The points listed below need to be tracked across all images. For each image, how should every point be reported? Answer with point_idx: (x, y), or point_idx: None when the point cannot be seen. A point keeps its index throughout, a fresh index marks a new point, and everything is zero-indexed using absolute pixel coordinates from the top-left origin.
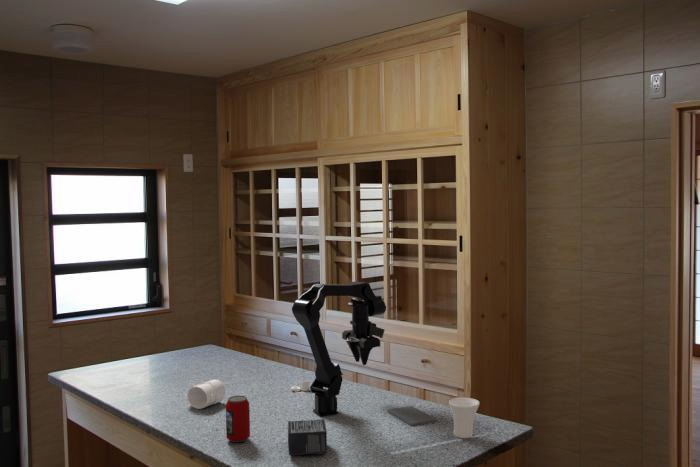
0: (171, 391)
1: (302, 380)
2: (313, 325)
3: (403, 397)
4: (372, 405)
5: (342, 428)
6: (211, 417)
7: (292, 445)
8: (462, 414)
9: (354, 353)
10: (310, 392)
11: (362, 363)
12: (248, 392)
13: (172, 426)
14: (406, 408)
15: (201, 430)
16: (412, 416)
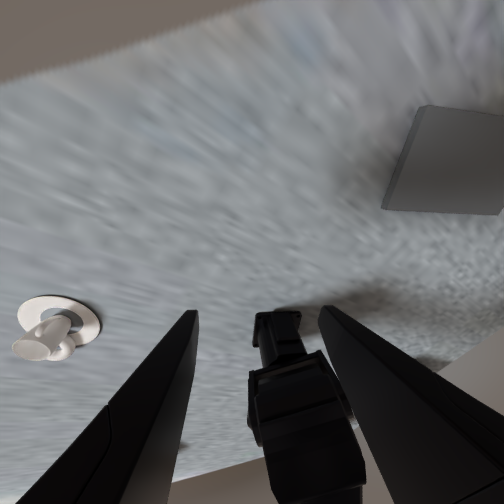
0: (17, 483)
1: (21, 353)
2: None
3: (297, 22)
4: (302, 214)
5: (374, 329)
6: (200, 443)
7: None
8: None
9: (177, 432)
10: (94, 318)
11: (323, 335)
12: (50, 412)
13: (215, 464)
14: (427, 146)
15: (248, 447)
16: (479, 178)
